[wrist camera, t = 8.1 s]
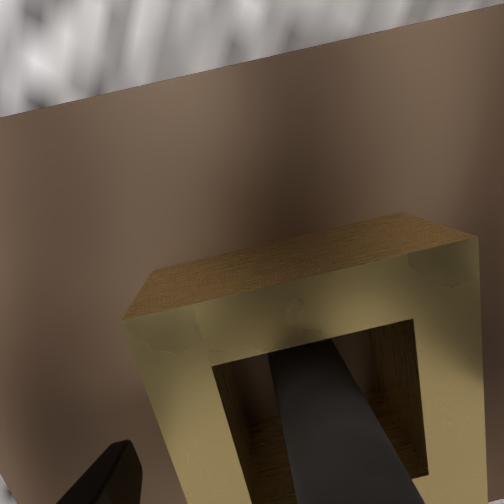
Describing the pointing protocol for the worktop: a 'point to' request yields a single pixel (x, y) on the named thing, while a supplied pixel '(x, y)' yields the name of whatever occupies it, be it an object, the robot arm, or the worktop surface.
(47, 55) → the worktop surface
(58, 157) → the keeper base
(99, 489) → the robot arm
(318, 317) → the brass link
